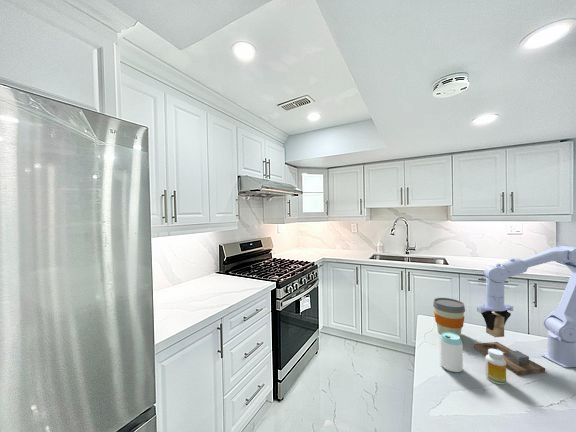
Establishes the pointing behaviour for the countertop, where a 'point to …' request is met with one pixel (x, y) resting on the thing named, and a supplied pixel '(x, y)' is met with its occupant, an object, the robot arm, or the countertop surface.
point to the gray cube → (518, 358)
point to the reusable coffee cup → (449, 315)
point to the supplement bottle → (495, 366)
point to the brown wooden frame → (510, 365)
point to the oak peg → (497, 327)
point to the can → (451, 352)
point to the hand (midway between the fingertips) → (495, 328)
